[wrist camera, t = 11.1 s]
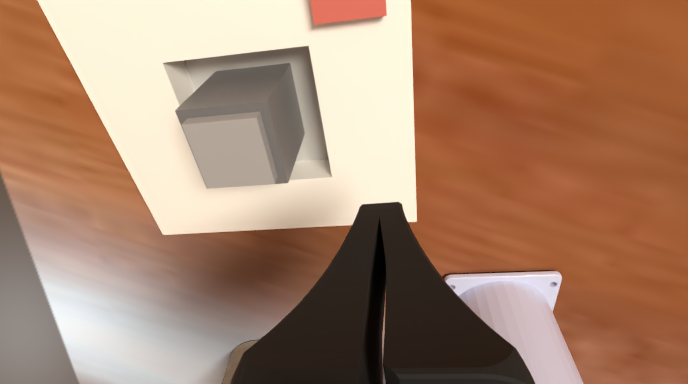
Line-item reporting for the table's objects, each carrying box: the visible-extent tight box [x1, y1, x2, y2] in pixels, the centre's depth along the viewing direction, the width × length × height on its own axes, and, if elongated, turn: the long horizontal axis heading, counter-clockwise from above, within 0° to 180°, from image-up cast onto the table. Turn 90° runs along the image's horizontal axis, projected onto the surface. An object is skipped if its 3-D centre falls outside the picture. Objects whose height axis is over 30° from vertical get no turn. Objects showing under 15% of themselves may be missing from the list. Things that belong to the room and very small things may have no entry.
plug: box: [175, 63, 305, 189], centre depth 19 cm, size 4×4×6 cm
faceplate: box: [37, 0, 417, 235], centre depth 20 cm, size 14×16×3 cm
